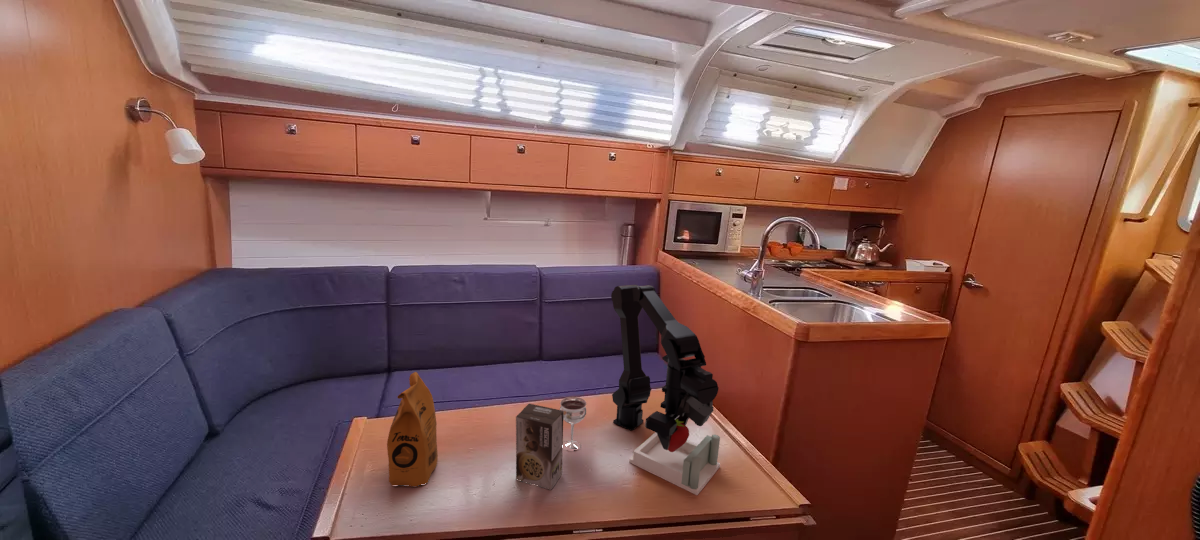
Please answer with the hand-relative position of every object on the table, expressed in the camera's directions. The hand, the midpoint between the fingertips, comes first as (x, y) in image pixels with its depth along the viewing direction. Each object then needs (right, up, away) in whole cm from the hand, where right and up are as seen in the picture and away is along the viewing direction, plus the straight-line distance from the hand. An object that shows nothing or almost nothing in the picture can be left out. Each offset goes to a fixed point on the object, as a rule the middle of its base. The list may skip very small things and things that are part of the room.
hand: (672, 442), depth 110 cm
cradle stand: (+1, -5, 0) cm, 6 cm away
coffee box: (-32, -6, -6) cm, 33 cm away
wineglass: (-25, -3, +6) cm, 26 cm away
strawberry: (0, -3, +1) cm, 3 cm away
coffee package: (-60, -4, -7) cm, 61 cm away
